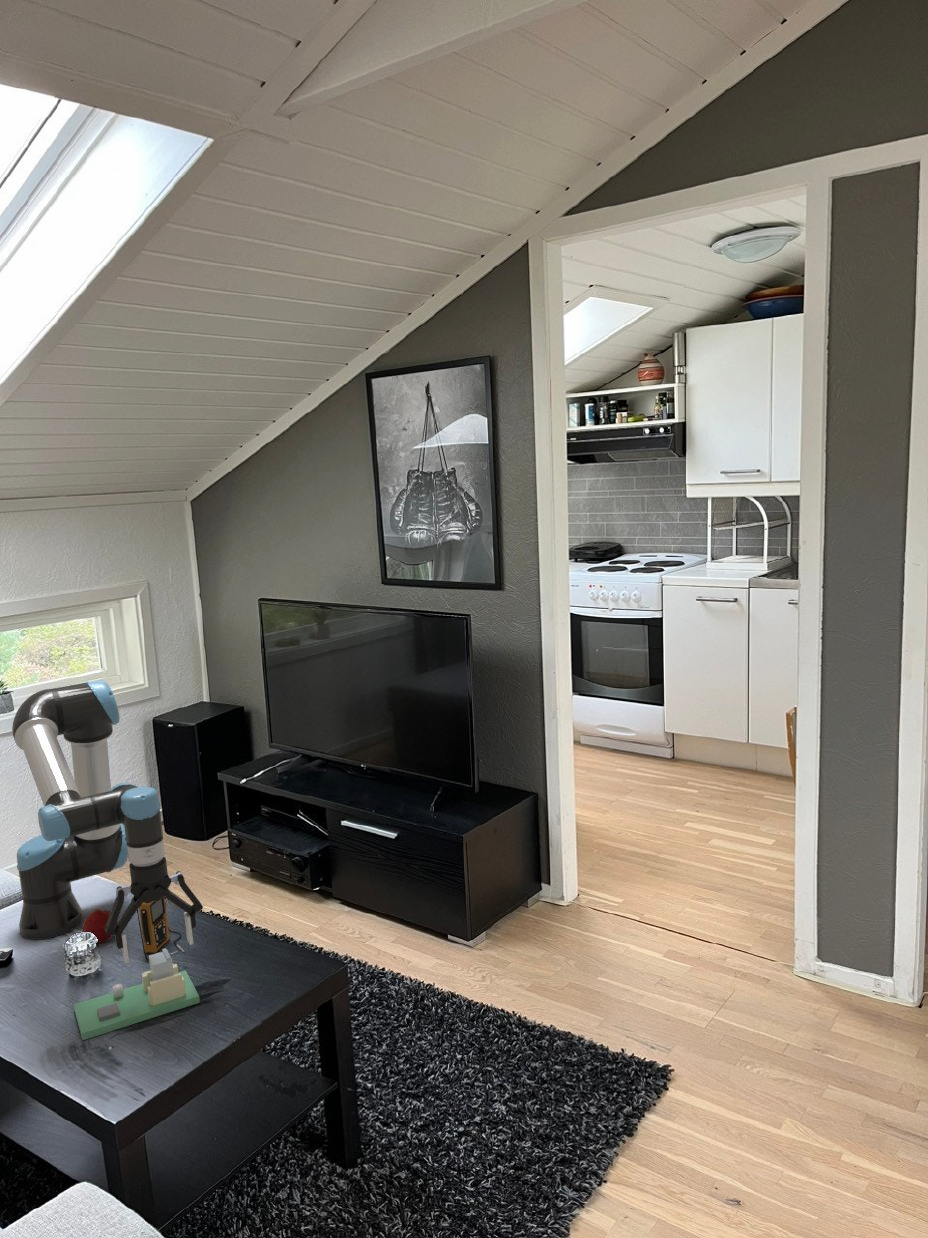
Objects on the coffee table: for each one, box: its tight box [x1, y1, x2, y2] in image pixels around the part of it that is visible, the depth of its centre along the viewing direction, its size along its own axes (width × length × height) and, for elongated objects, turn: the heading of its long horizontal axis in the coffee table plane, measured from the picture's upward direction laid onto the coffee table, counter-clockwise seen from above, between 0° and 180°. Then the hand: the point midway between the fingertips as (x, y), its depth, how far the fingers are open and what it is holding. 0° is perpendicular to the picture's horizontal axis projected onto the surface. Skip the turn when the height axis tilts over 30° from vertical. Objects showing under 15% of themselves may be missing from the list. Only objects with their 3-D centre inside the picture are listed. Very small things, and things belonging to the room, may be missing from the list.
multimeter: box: [136, 897, 185, 962], centre depth 231 cm, size 15×10×20 cm
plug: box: [148, 947, 174, 981], centre depth 209 cm, size 5×4×9 cm
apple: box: [82, 909, 118, 944], centre depth 238 cm, size 8×8×8 cm
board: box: [73, 963, 201, 1041], centre depth 207 cm, size 13×24×6 cm, turn 119°
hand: (158, 951), depth 208 cm, fingers open, 13 cm apart
